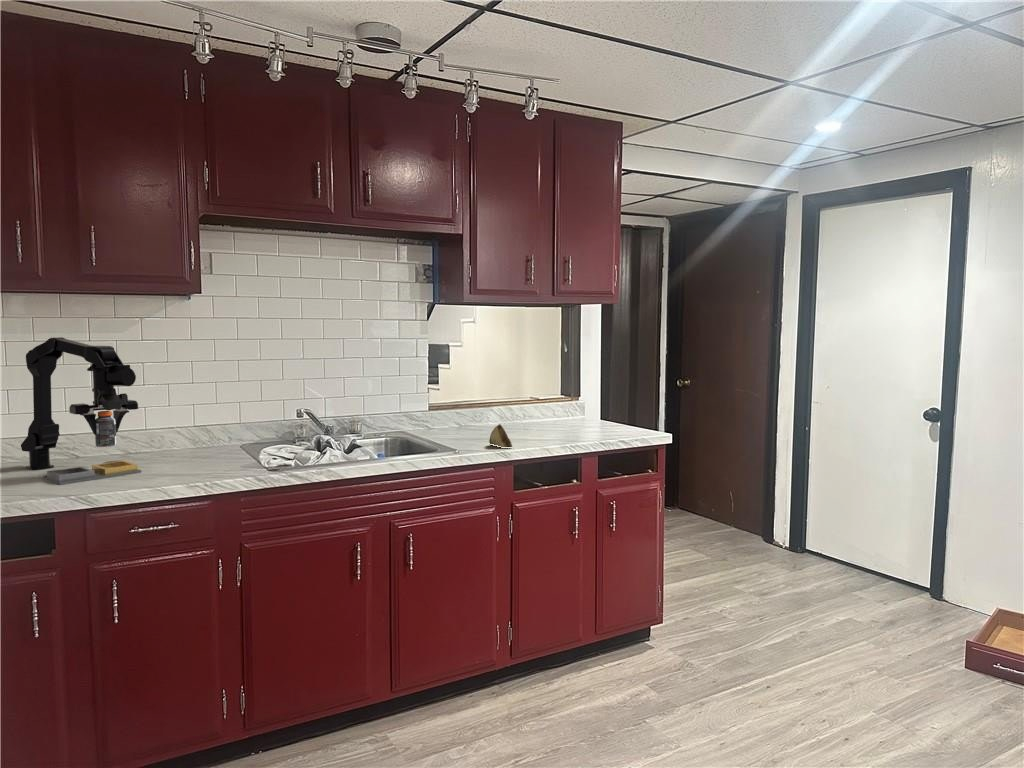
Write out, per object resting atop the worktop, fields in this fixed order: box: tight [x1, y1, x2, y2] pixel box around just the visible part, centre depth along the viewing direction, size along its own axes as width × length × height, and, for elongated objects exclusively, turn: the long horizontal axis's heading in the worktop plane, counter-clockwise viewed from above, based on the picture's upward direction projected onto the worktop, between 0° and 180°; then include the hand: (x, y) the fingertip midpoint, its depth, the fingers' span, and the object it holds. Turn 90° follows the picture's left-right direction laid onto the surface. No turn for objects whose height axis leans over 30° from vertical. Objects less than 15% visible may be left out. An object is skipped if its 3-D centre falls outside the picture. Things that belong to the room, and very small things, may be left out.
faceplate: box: [42, 460, 142, 486], centre depth 230 cm, size 13×24×2 cm, turn 141°
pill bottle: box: [94, 410, 117, 448], centre depth 232 cm, size 6×6×11 cm
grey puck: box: [101, 459, 123, 464], centre depth 245 cm, size 7×7×2 cm
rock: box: [488, 423, 513, 447], centre depth 289 cm, size 11×9×10 cm
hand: (105, 433), depth 232 cm, fingers closed on pill bottle, 6 cm apart
